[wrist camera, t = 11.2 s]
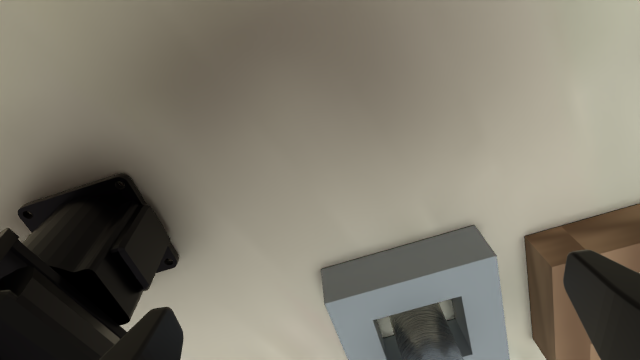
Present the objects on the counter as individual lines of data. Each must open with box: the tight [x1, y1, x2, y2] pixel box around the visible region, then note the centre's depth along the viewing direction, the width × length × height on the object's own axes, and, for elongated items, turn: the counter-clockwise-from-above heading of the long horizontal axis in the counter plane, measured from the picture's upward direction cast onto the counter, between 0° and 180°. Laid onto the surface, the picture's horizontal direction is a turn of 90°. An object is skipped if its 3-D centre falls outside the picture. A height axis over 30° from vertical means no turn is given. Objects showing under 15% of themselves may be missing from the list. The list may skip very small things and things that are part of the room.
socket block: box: [321, 225, 510, 360], centre depth 26 cm, size 10×10×3 cm
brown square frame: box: [525, 204, 640, 360], centre depth 26 cm, size 10×10×3 cm
